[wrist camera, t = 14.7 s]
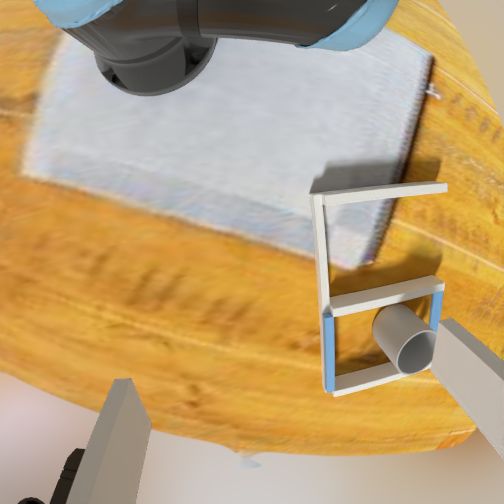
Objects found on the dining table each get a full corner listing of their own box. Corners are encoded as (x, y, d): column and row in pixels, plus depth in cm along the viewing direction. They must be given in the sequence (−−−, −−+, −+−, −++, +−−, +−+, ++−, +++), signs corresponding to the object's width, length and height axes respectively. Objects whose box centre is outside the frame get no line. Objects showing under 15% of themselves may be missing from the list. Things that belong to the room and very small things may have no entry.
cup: (396, 293, 44) (427, 319, 35) (424, 328, 46) (453, 355, 37) (362, 327, 45) (386, 359, 36) (393, 358, 47) (417, 390, 39)
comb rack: (308, 193, 39) (315, 196, 35) (444, 179, 39) (458, 182, 36) (321, 384, 47) (327, 398, 44) (432, 353, 48) (442, 363, 44)
